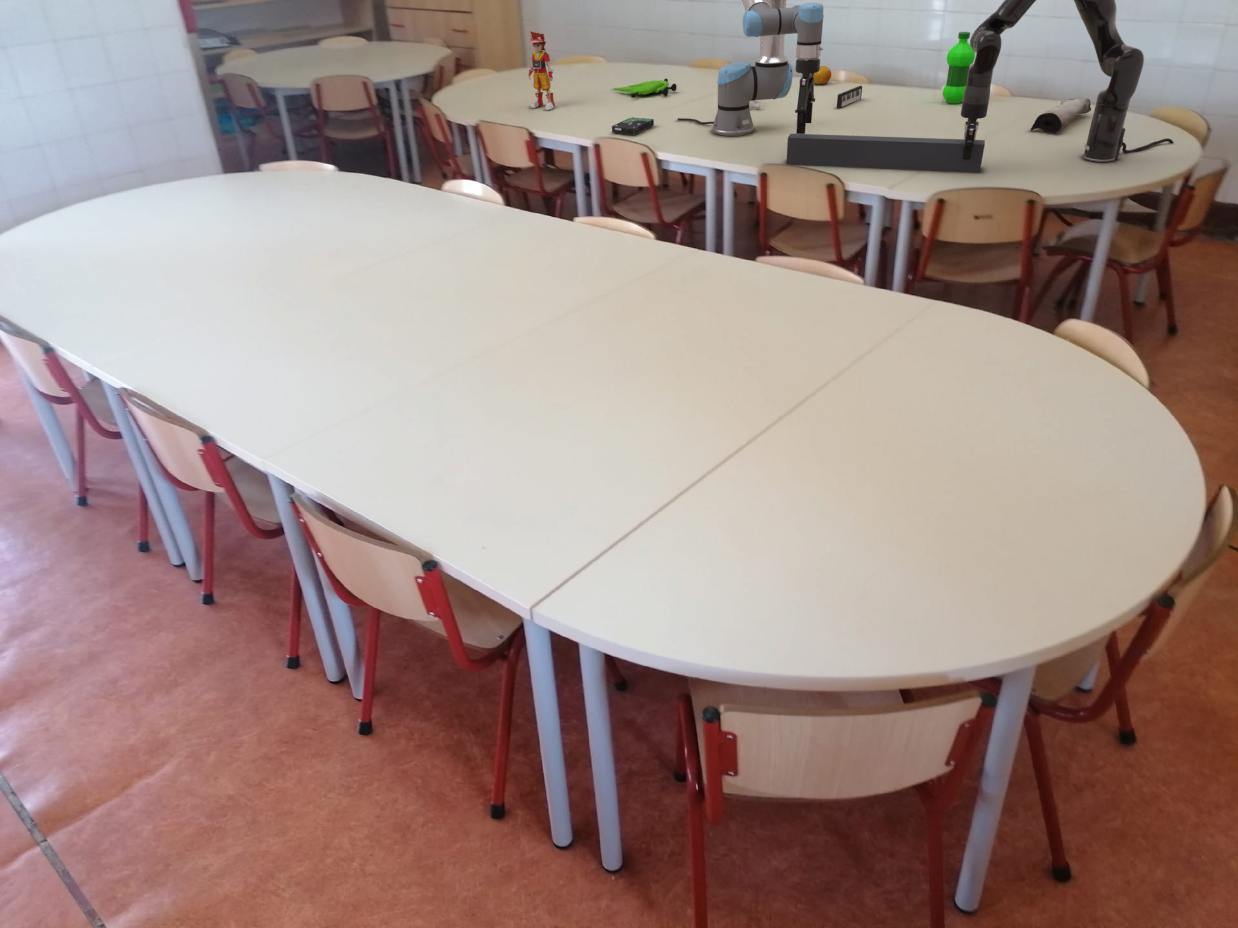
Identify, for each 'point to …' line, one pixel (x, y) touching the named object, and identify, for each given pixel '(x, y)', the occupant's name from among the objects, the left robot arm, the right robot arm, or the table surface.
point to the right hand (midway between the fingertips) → (966, 156)
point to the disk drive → (632, 126)
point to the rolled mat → (1061, 115)
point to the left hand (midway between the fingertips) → (804, 128)
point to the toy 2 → (648, 88)
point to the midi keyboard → (849, 96)
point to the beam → (884, 152)
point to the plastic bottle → (958, 69)
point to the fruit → (822, 75)
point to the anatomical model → (753, 105)
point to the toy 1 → (541, 71)
